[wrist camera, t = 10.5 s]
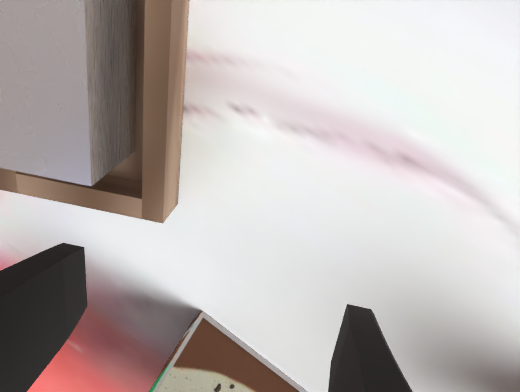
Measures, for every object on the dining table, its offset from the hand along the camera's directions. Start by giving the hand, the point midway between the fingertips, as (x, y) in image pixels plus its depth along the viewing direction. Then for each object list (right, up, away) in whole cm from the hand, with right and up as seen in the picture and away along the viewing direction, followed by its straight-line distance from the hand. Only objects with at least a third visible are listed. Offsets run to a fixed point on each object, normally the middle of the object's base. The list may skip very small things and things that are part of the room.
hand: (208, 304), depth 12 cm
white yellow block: (-6, +9, +7) cm, 13 cm away
